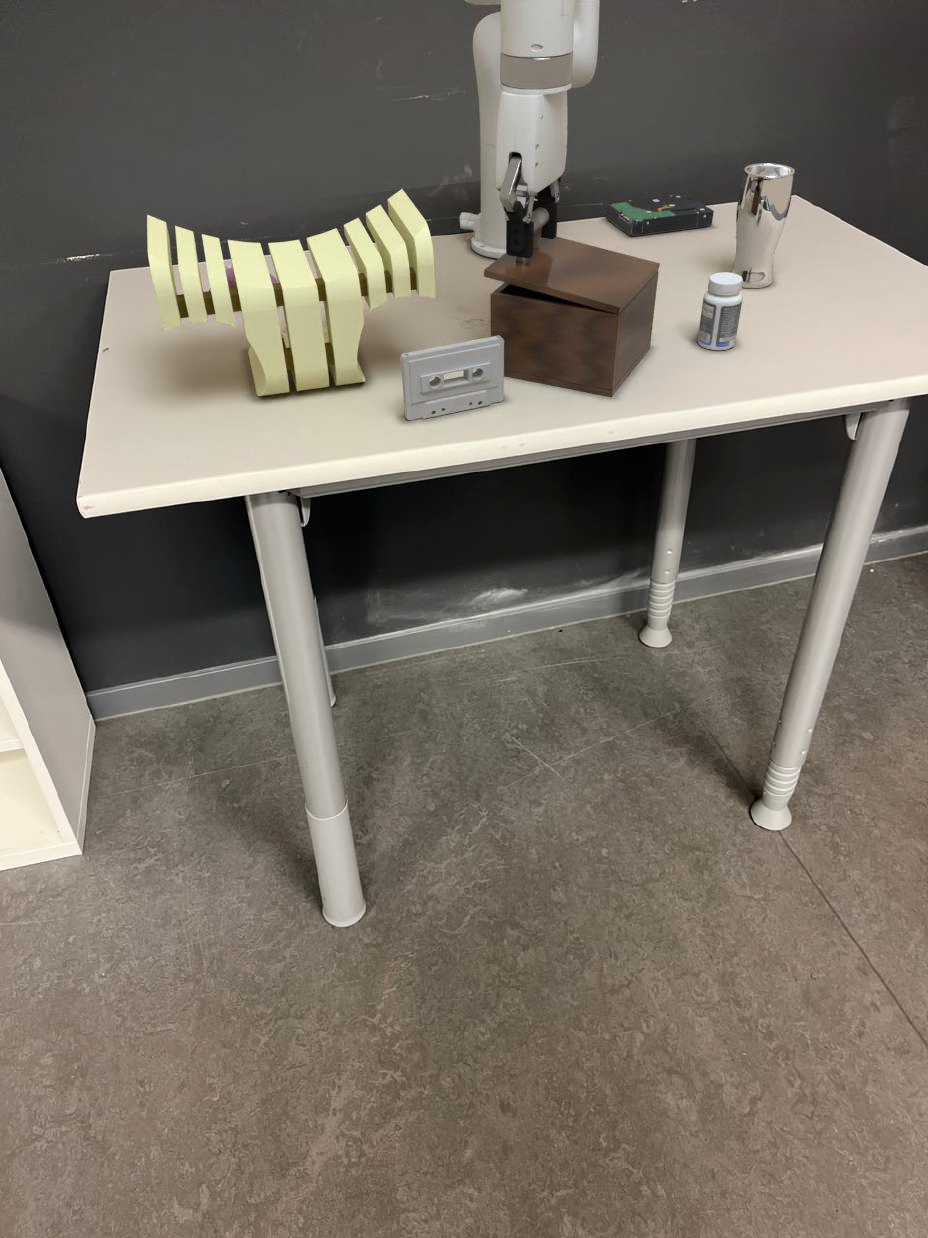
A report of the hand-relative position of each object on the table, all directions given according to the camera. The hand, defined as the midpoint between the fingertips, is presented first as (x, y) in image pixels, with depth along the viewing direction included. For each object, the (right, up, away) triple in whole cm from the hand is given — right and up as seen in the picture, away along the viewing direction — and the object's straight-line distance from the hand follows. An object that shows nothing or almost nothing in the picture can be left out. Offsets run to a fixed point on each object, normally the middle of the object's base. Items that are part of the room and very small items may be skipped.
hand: (531, 244), depth 108 cm
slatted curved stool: (-28, -13, +6) cm, 31 cm away
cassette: (-9, -20, -2) cm, 22 cm away
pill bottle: (+24, -9, +10) cm, 28 cm away
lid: (+5, -3, 0) cm, 6 cm away
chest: (+5, -12, +7) cm, 15 cm away
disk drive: (+25, +22, +46) cm, 57 cm away
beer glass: (+34, +5, +25) cm, 42 cm away
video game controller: (-39, -1, +22) cm, 44 cm away
